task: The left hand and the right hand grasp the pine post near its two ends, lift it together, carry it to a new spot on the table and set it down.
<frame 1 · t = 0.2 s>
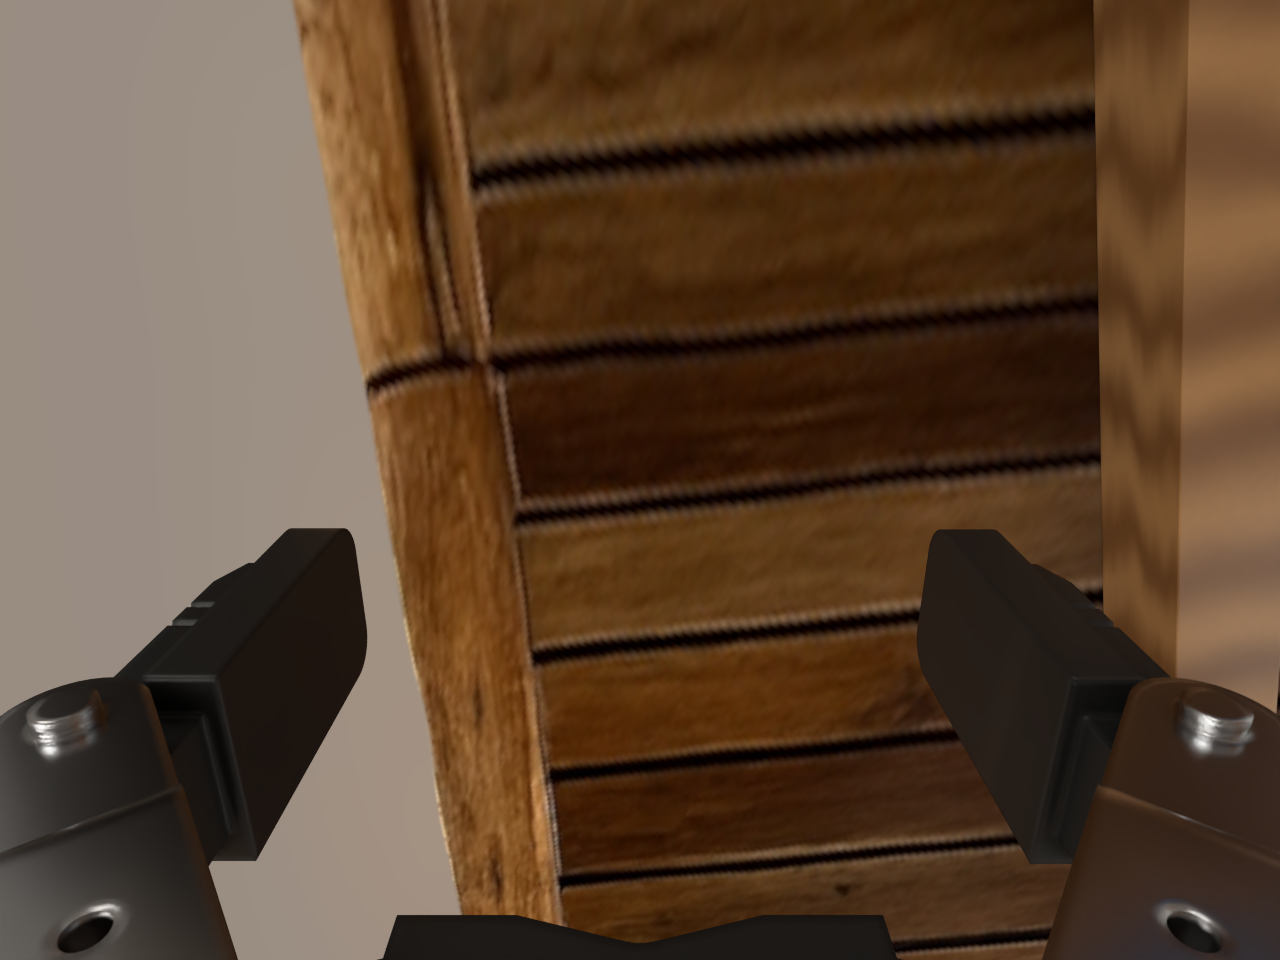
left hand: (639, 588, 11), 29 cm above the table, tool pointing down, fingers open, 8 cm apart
post: (1148, 514, 42), on the table
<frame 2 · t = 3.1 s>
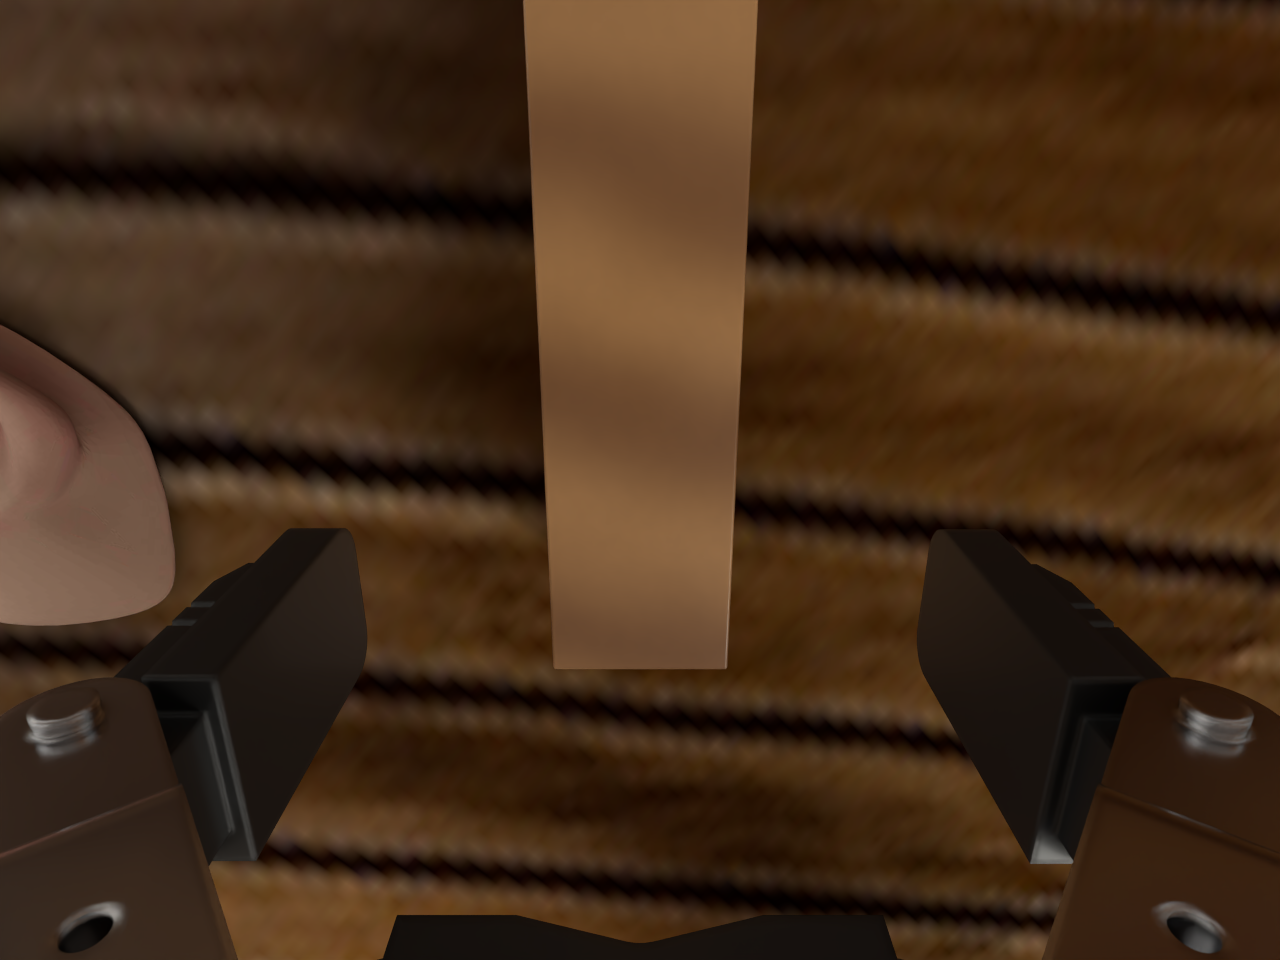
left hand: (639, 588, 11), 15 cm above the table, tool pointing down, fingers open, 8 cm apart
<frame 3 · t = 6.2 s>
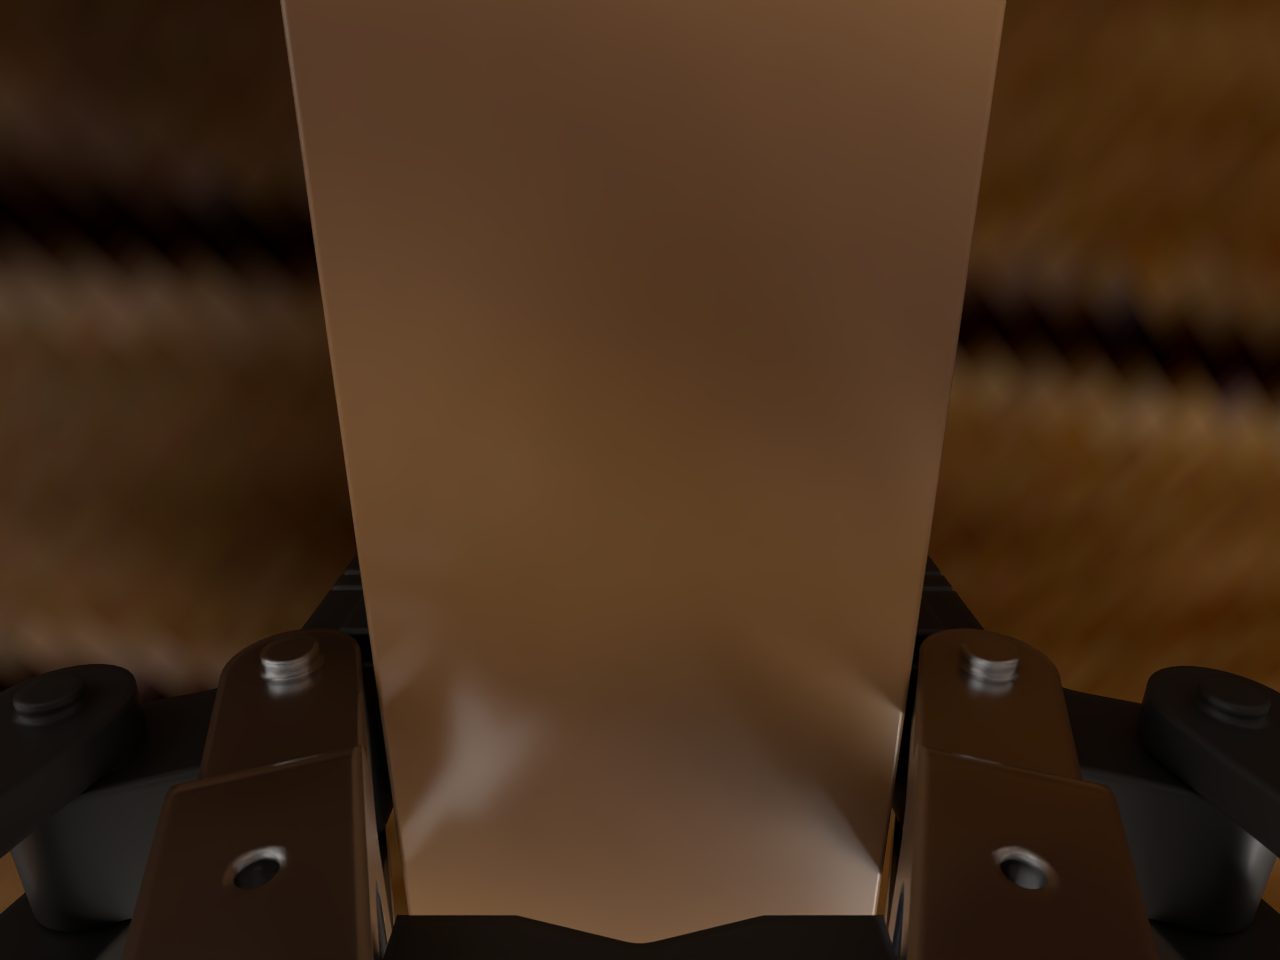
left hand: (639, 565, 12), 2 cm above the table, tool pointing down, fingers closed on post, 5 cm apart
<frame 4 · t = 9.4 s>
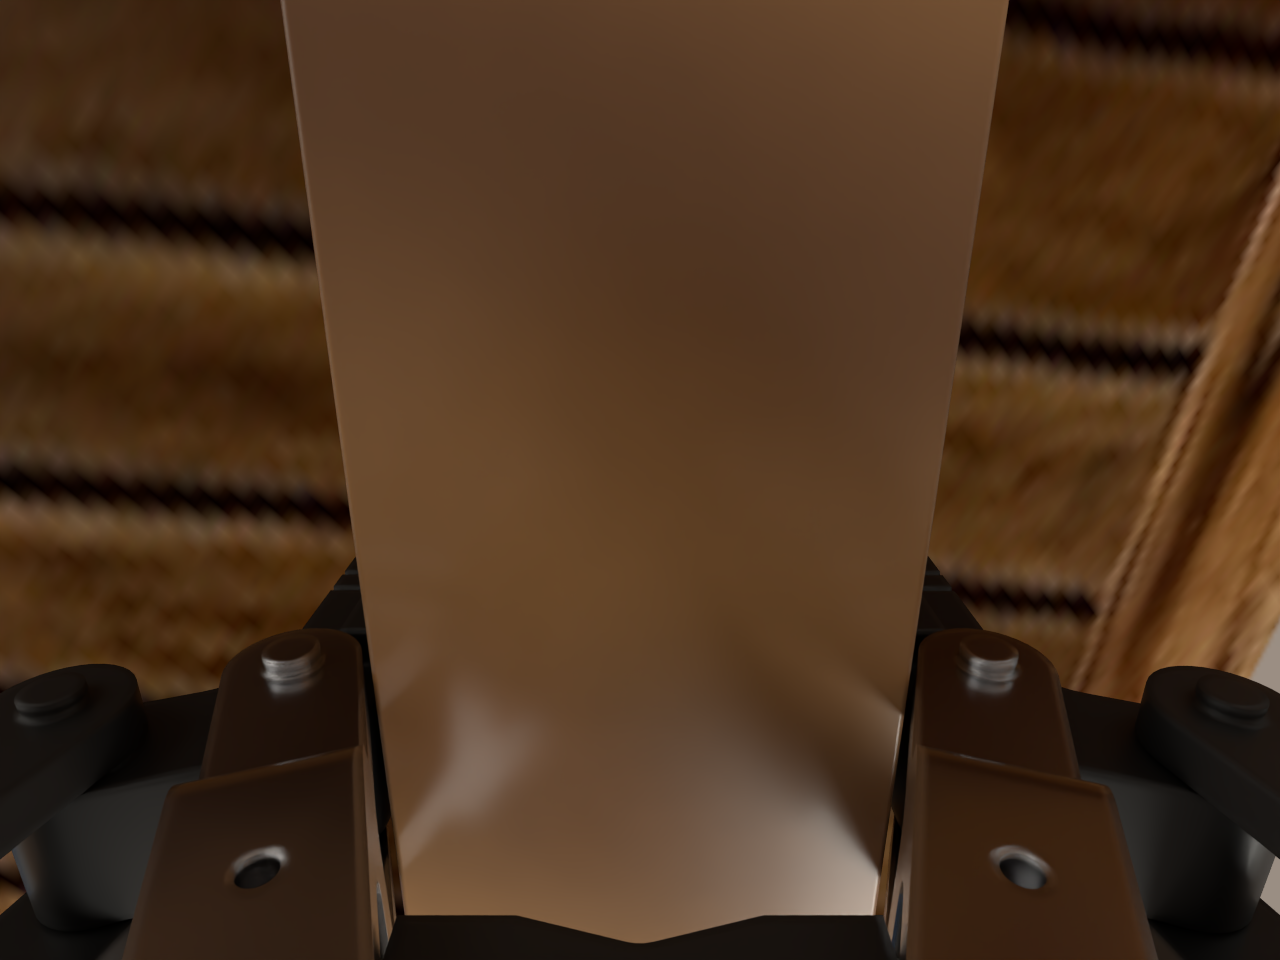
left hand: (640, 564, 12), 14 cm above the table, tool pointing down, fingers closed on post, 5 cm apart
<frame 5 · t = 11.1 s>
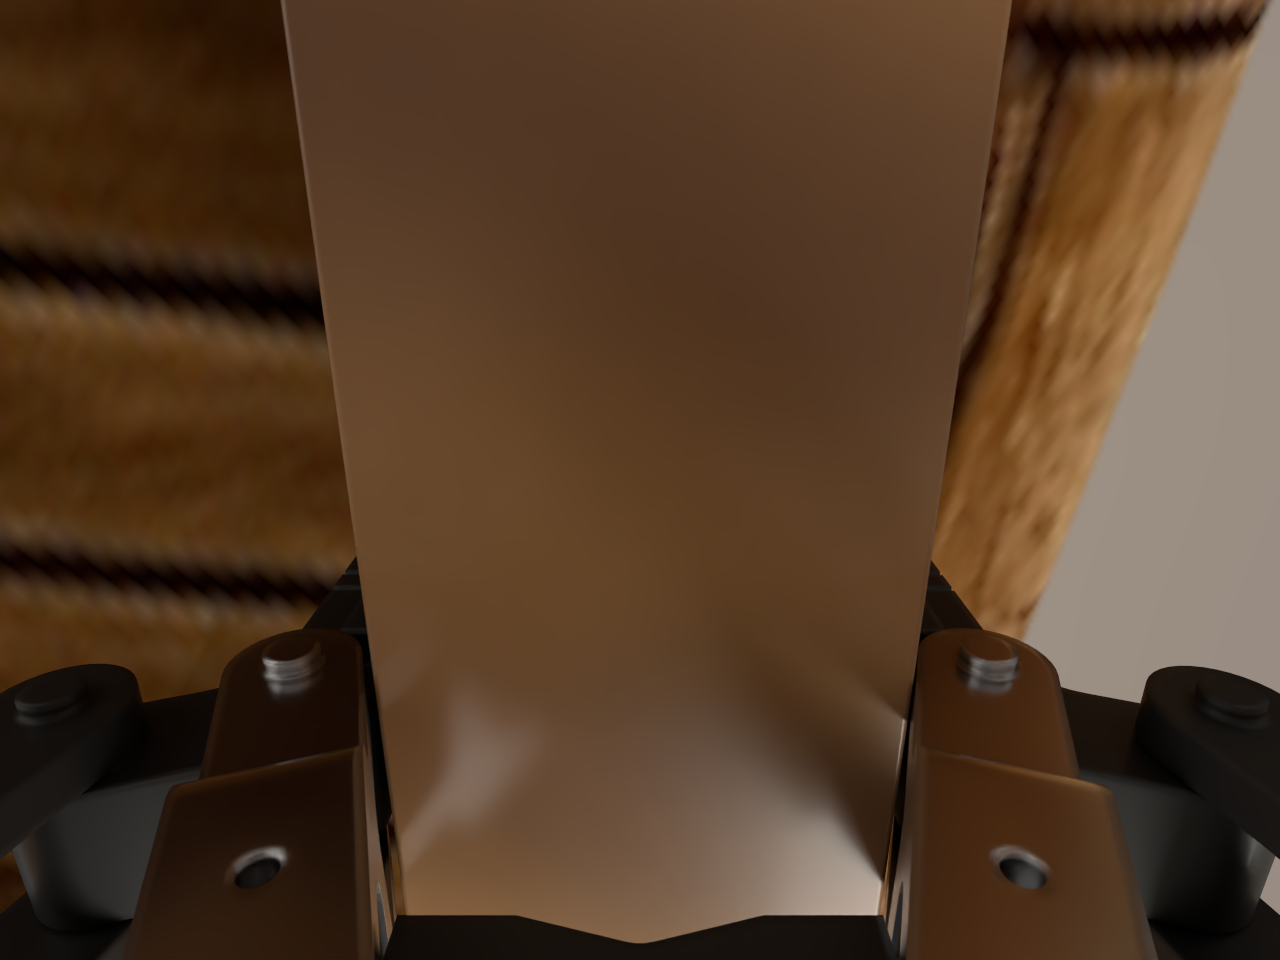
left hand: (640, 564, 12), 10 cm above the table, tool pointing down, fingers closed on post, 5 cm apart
when the right hand's fingers open (1 cm above the table, at t = 12.2 s): post stays where it is, on the table.
when the left hand's fingers open (3 cm above the table, at t = 12.4 s): post stays where it is, on the table.
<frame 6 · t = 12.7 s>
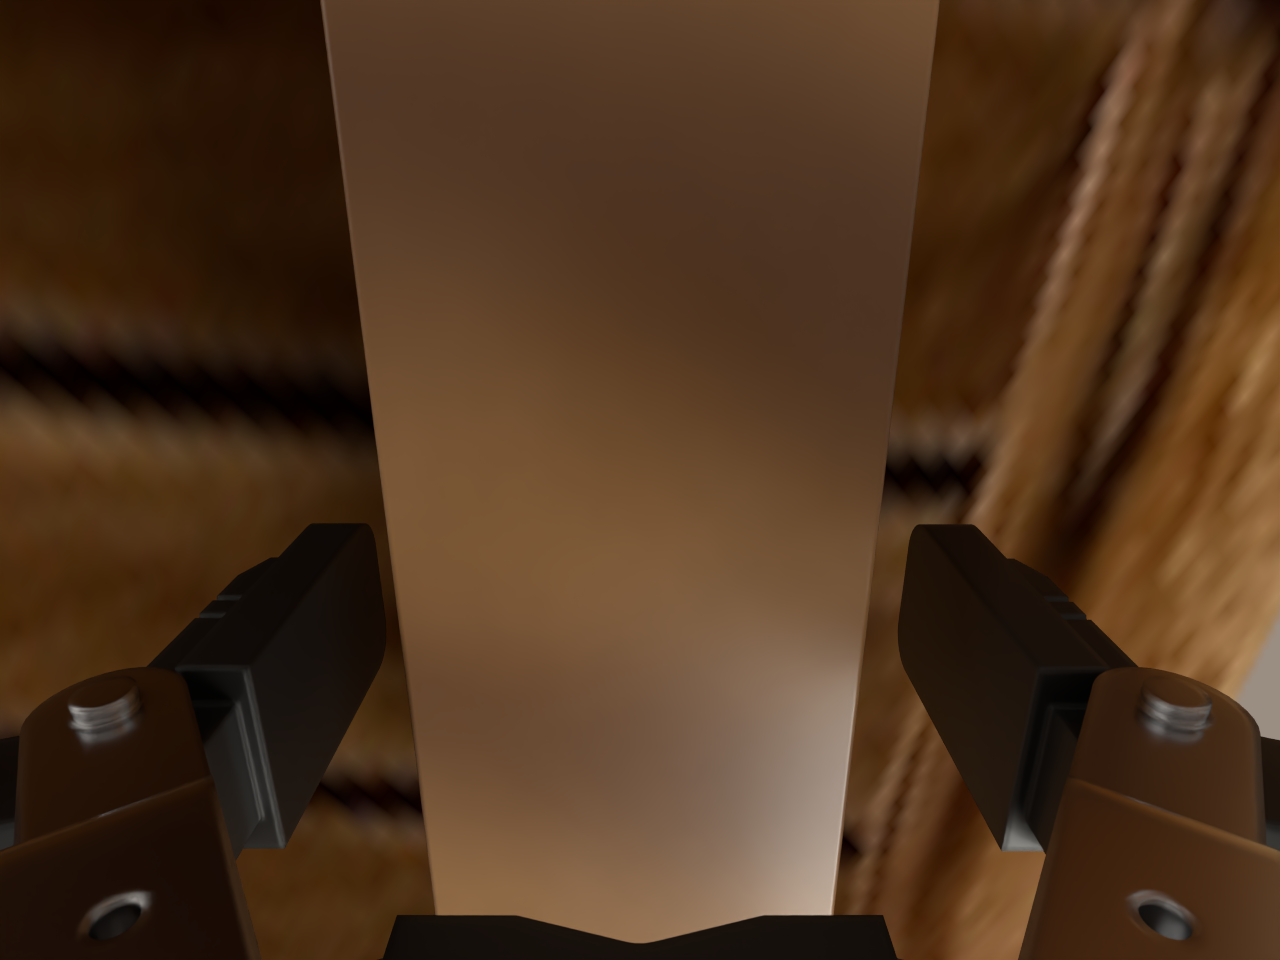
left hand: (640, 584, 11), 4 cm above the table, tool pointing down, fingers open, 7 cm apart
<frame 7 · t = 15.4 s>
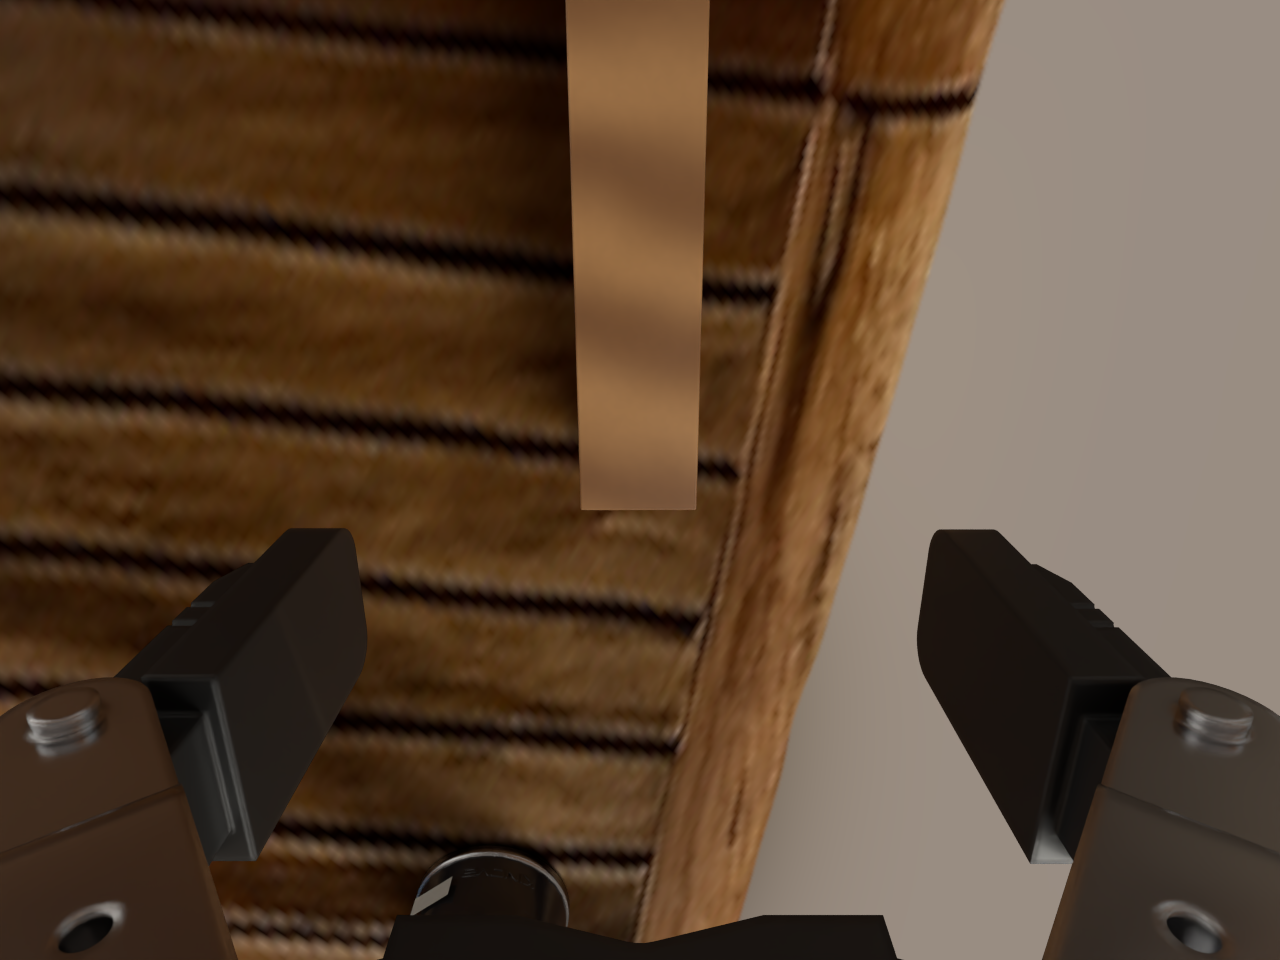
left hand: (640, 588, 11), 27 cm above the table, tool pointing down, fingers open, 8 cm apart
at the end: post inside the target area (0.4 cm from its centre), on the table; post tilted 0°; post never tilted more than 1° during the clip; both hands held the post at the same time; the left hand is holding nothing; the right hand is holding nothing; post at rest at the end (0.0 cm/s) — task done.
